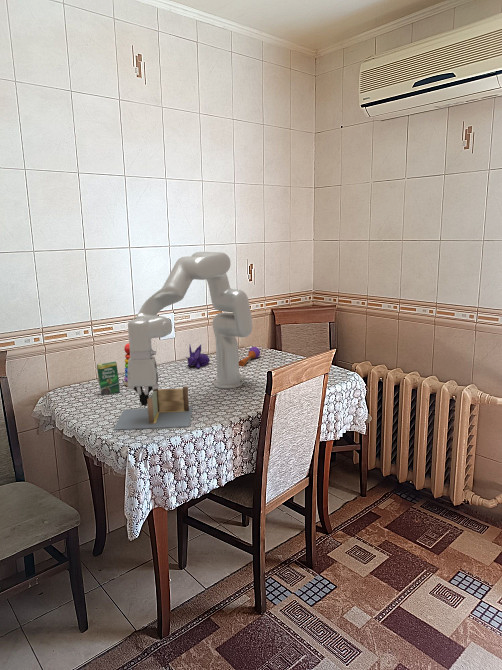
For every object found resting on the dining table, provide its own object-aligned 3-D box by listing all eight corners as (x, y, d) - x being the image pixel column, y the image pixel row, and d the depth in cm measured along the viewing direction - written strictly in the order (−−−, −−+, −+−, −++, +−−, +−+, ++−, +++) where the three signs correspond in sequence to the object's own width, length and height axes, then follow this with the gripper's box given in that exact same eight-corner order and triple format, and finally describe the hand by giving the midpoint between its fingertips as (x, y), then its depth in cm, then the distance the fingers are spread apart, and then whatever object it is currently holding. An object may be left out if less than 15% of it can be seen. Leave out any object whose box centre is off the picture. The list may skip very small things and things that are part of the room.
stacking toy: (146, 382, 222) (143, 341, 218) (136, 387, 214) (133, 345, 210) (130, 380, 224) (127, 340, 220) (120, 386, 217) (117, 344, 213)
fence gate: (154, 411, 184) (152, 389, 182) (158, 411, 184) (157, 389, 182) (148, 422, 173) (146, 399, 171) (153, 422, 173) (151, 399, 171)
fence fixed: (189, 409, 186) (187, 386, 184) (188, 411, 185) (187, 387, 183) (155, 410, 186) (153, 387, 184) (154, 412, 184) (152, 389, 182)
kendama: (234, 358, 243) (250, 345, 261) (237, 369, 244) (252, 356, 262) (245, 357, 240) (260, 344, 258) (248, 368, 242) (262, 355, 259)
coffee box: (100, 395, 205) (97, 365, 203) (99, 393, 208) (96, 363, 205) (120, 392, 209) (117, 362, 206) (119, 390, 211) (116, 361, 208)
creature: (178, 369, 240) (176, 345, 237) (202, 360, 255) (200, 337, 252) (192, 372, 235) (191, 347, 233) (215, 363, 250) (214, 339, 247)
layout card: (192, 407, 190) (192, 406, 189) (189, 426, 171) (189, 425, 171) (124, 410, 188) (124, 409, 188) (113, 430, 170) (113, 429, 170)
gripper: (164, 351, 176) (167, 400, 180) (123, 352, 176) (126, 401, 180) (160, 357, 168) (163, 408, 172) (116, 357, 169) (120, 408, 173)
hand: (144, 404), depth 176 cm, fingers closed
